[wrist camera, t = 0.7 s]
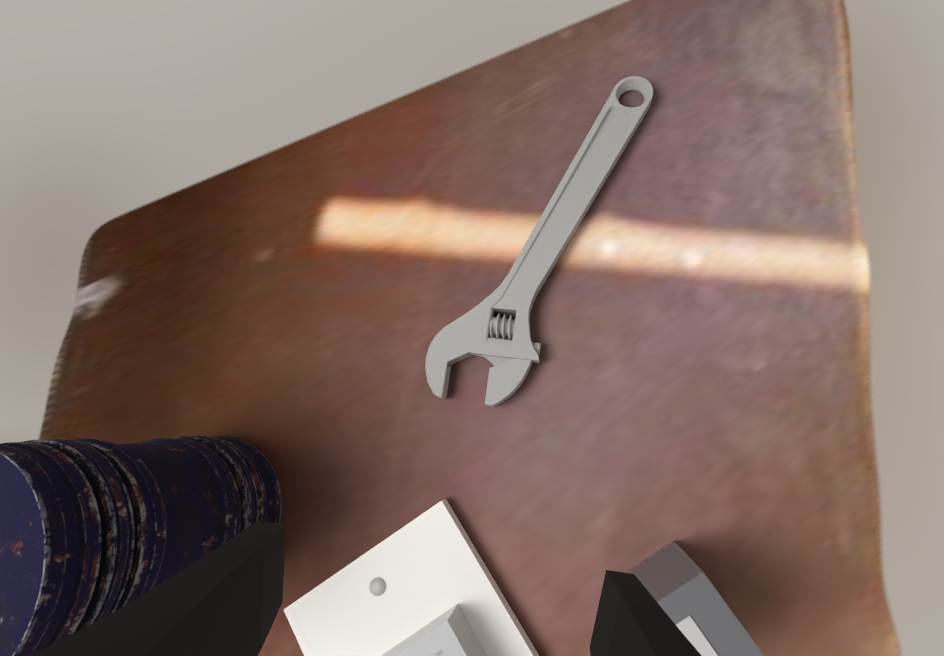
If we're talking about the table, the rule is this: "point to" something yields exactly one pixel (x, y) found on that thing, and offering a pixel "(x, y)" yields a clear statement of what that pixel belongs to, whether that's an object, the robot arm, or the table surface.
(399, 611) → the outlet plate
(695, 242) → the table surface
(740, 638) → the block
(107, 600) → the dark blue barrel
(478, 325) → the adjustable wrench
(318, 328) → the table surface
